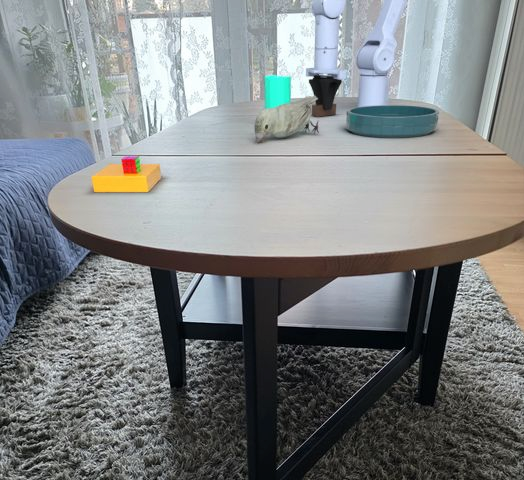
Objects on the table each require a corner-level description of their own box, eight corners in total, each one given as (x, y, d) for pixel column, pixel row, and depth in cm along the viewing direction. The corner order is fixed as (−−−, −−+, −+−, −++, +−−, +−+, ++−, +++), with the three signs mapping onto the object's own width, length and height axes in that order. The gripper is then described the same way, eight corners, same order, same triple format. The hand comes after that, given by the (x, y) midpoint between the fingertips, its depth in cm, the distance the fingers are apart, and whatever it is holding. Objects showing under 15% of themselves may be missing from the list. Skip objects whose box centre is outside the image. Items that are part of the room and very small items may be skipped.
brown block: (329, 113, 135) (330, 102, 134) (335, 114, 133) (336, 103, 132) (311, 115, 133) (311, 104, 131) (317, 116, 131) (317, 105, 130)
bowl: (363, 121, 123) (364, 103, 121) (445, 126, 115) (448, 107, 113) (332, 134, 109) (333, 114, 107) (422, 141, 100) (425, 119, 98)
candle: (261, 125, 121) (259, 68, 115) (283, 123, 123) (283, 67, 117) (271, 129, 117) (271, 70, 110) (295, 127, 119) (295, 68, 112)
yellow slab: (93, 192, 73) (88, 161, 71) (111, 178, 80) (106, 150, 78) (148, 192, 72) (143, 161, 70) (161, 178, 79) (158, 149, 77)
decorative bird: (248, 141, 104) (247, 101, 100) (305, 132, 113) (306, 94, 109) (265, 145, 101) (264, 103, 97) (322, 135, 109) (324, 96, 105)
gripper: (296, 49, 129) (295, 107, 136) (330, 49, 118) (328, 113, 125) (319, 48, 132) (317, 105, 139) (354, 48, 121) (350, 111, 128)
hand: (323, 109), depth 132 cm, fingers closed on brown block, 2 cm apart
